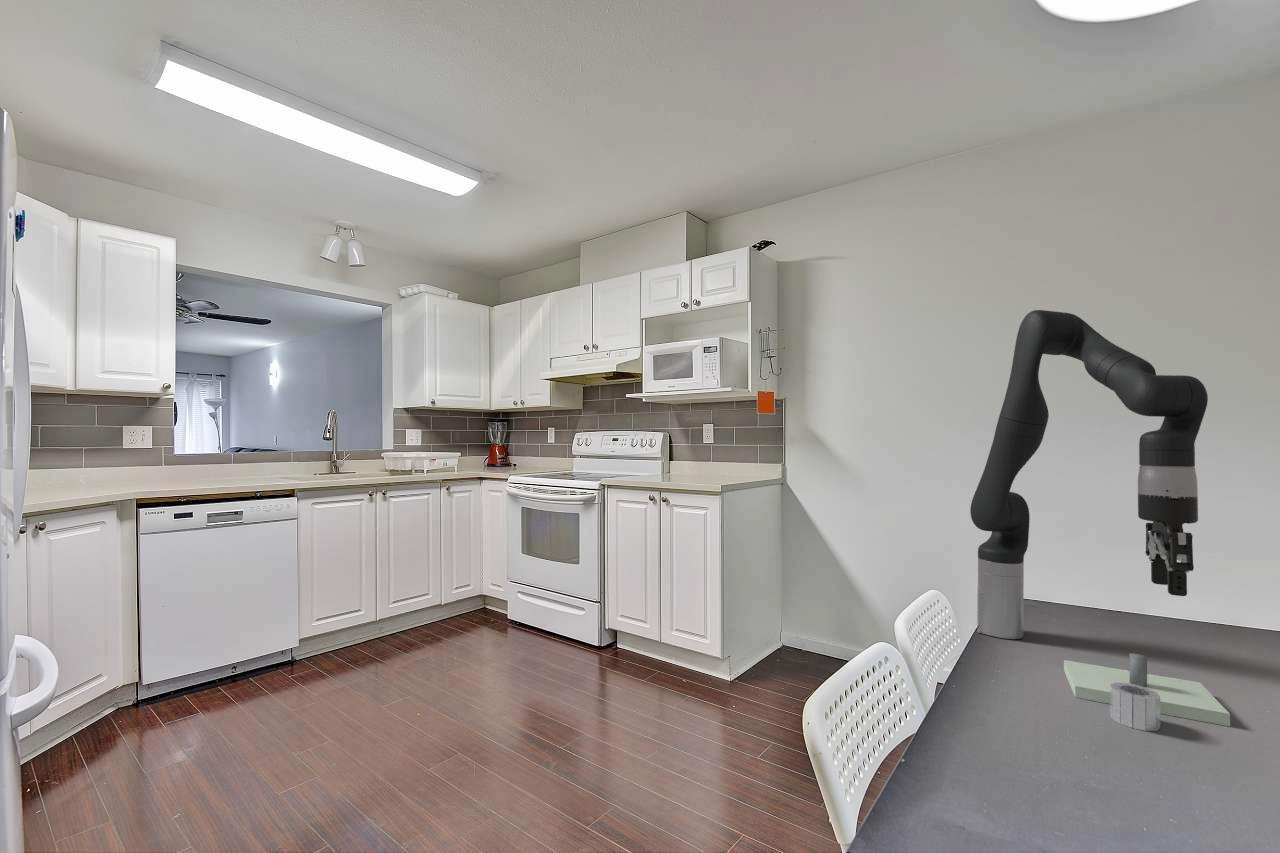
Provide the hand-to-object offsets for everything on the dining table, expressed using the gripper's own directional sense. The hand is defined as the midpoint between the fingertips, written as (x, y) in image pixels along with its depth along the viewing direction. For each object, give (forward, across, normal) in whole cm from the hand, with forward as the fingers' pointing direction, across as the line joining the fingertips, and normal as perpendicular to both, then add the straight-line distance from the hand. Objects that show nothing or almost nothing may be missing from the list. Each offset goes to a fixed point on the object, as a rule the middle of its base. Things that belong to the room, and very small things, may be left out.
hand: (1168, 589), depth 98 cm
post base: (+20, -6, -3) cm, 21 cm away
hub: (+20, +7, -6) cm, 23 cm away
